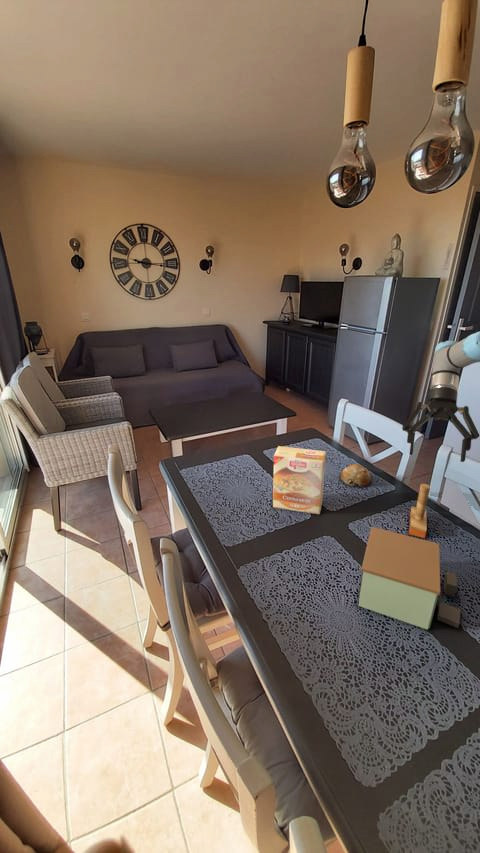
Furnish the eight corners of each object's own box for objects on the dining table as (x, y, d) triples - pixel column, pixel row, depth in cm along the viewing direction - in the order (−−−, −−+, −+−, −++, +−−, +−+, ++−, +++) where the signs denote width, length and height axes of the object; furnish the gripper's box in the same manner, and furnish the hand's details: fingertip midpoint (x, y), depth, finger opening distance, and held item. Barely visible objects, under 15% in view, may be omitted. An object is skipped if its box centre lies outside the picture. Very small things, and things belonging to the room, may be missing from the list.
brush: (409, 515, 110) (417, 475, 105) (424, 519, 109) (432, 478, 103) (408, 536, 102) (417, 494, 96) (424, 540, 101) (433, 497, 95)
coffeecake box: (272, 509, 115) (273, 455, 108) (277, 496, 122) (277, 445, 114) (320, 516, 111) (324, 461, 103) (322, 503, 117) (326, 450, 110)
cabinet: (433, 583, 87) (443, 544, 82) (433, 635, 75) (445, 593, 70) (365, 563, 93) (371, 526, 88) (356, 608, 81) (361, 568, 76)
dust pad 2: (439, 601, 80) (438, 608, 81) (437, 615, 77) (436, 621, 77) (460, 609, 78) (458, 616, 79) (459, 623, 75) (457, 630, 75)
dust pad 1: (443, 596, 83) (453, 599, 82) (447, 583, 82) (457, 586, 81) (442, 583, 87) (452, 586, 86) (446, 571, 85) (455, 573, 84)
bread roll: (339, 492, 129) (341, 480, 123) (340, 468, 136) (342, 456, 130) (369, 495, 127) (372, 483, 121) (368, 471, 133) (371, 458, 127)
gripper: (488, 398, 109) (482, 466, 105) (399, 391, 119) (390, 453, 115) (495, 389, 103) (489, 461, 98) (400, 382, 113) (391, 448, 108)
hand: (436, 457), depth 107 cm, fingers open, 13 cm apart
